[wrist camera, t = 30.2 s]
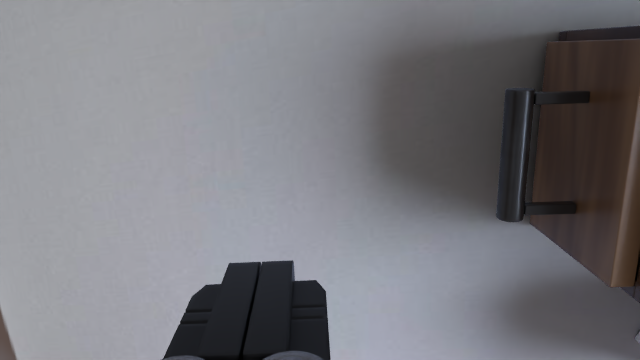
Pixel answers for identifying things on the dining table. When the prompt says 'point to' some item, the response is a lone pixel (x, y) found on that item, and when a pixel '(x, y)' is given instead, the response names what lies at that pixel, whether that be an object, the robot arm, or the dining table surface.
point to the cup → (638, 337)
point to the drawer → (580, 155)
